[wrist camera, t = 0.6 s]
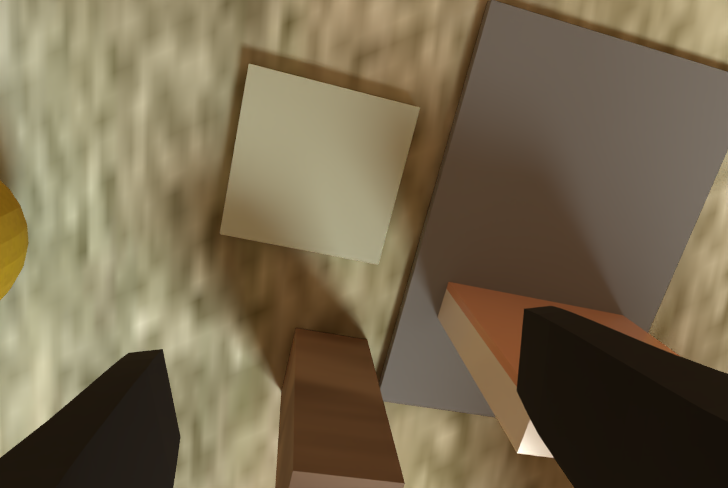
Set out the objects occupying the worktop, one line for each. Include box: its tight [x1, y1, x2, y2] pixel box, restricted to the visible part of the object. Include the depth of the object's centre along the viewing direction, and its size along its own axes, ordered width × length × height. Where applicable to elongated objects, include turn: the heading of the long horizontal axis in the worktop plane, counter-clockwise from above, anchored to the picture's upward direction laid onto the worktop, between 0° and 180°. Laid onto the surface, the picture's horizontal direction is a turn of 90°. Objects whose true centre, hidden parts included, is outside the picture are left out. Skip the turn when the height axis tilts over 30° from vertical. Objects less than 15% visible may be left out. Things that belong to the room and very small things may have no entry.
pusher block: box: [275, 328, 405, 488], centre depth 17 cm, size 3×3×8 cm
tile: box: [438, 282, 681, 458], centre depth 17 cm, size 2×8×8 cm, turn 76°
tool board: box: [220, 64, 420, 265], centre depth 18 cm, size 6×6×1 cm
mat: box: [379, 0, 728, 417], centre depth 21 cm, size 16×11×1 cm
